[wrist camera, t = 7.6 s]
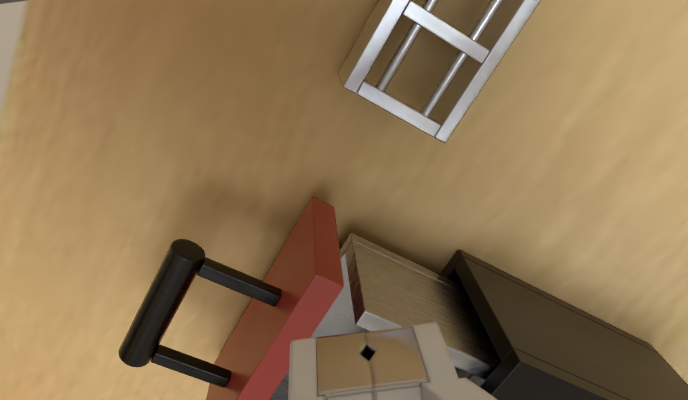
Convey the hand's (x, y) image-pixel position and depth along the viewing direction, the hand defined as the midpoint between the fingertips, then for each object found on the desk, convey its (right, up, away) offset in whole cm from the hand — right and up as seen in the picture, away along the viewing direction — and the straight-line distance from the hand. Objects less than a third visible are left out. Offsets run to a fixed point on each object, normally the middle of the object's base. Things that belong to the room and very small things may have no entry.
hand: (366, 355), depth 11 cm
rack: (+3, +11, +12) cm, 16 cm away
